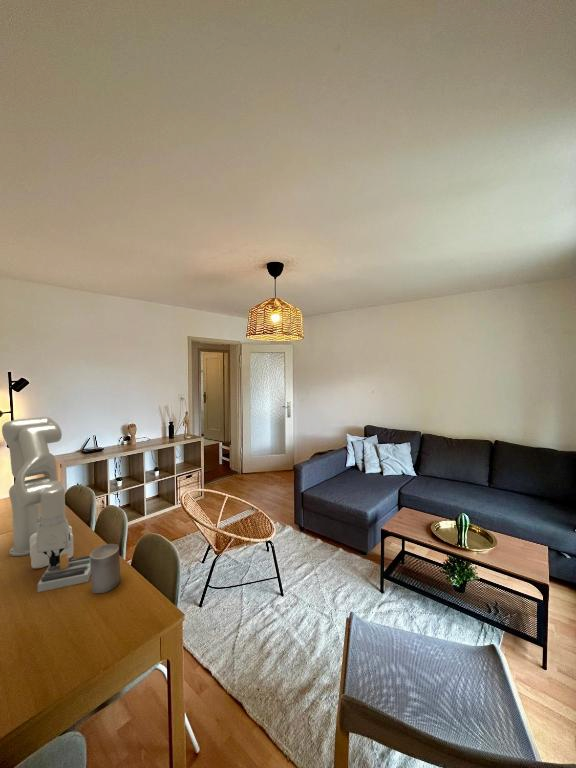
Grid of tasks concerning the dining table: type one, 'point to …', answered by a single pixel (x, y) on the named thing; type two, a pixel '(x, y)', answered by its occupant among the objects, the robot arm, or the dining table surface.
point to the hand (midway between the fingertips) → (54, 564)
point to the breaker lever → (64, 562)
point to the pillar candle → (105, 568)
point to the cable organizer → (42, 559)
